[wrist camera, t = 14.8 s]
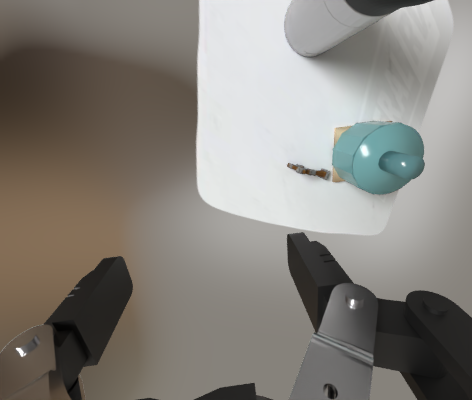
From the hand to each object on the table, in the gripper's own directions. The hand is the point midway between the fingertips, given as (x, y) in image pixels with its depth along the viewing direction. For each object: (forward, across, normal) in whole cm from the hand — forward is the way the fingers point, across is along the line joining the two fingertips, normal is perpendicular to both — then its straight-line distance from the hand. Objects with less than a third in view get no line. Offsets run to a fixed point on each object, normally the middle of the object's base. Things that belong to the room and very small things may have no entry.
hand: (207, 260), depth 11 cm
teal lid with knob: (+34, -28, +4) cm, 44 cm away
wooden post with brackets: (+34, -17, +6) cm, 39 cm away
